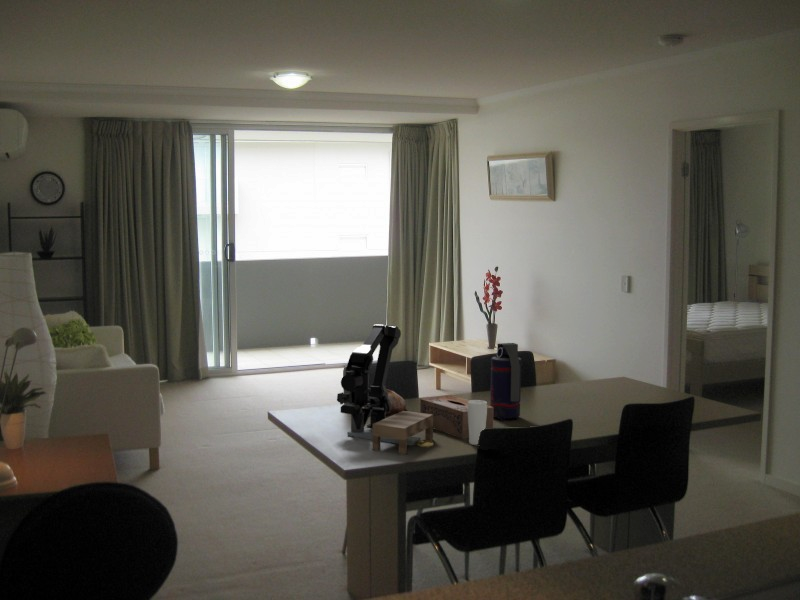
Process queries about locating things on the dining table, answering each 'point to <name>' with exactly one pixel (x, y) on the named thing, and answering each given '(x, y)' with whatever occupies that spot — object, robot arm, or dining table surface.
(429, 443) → the brass token
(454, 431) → the tissue box cover
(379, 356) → the robot arm
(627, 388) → the dining table surface
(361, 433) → the blade tool
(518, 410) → the grenade
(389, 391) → the bread
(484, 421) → the drinking glass
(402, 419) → the wooden footstool
